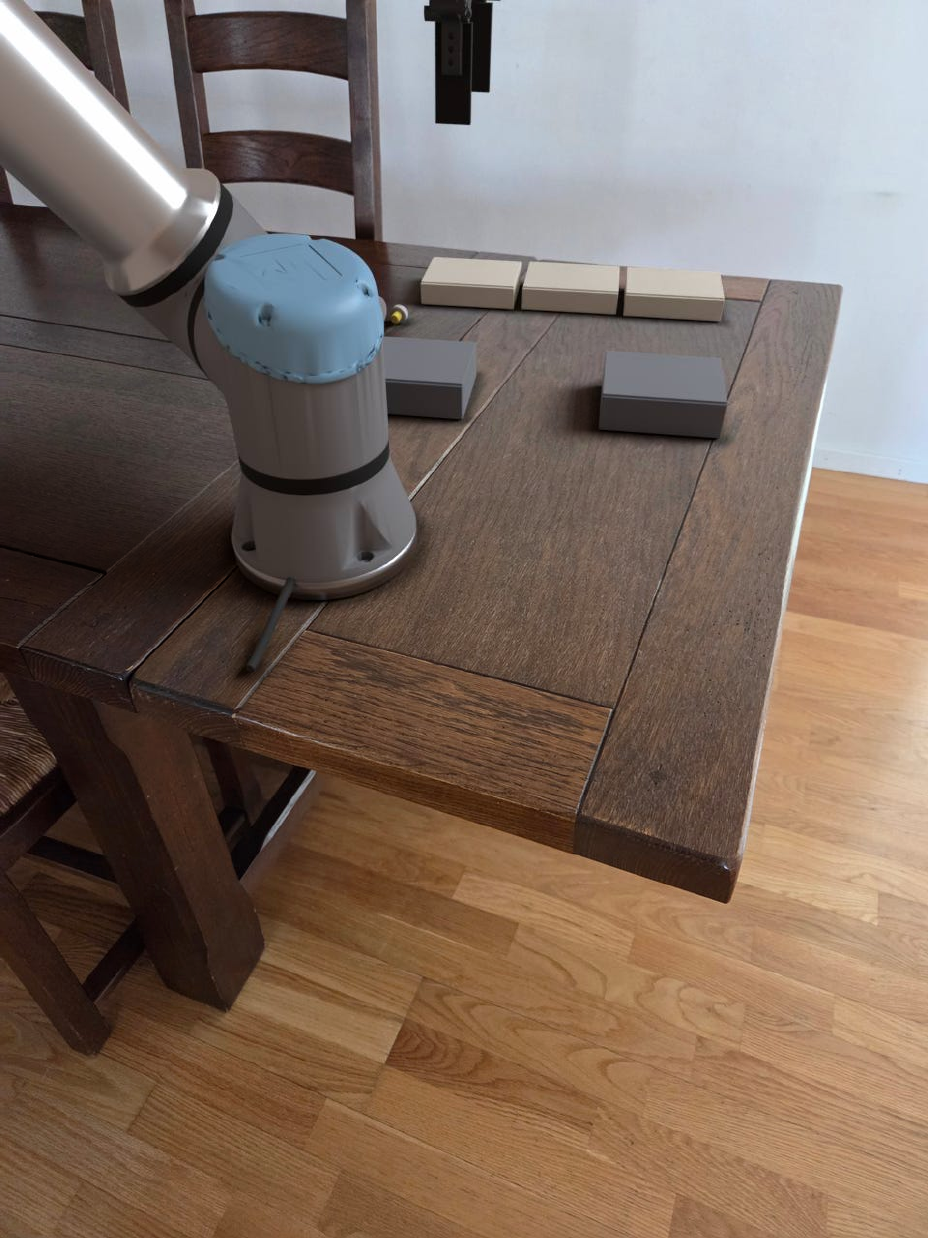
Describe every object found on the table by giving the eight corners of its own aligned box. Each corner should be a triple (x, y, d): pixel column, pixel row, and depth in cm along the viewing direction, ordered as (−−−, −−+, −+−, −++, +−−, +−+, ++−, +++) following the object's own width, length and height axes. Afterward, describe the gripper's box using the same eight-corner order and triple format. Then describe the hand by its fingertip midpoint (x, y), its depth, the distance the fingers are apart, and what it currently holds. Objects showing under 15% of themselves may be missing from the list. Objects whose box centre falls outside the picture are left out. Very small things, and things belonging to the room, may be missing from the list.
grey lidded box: (462, 421, 88) (461, 385, 86) (348, 412, 90) (345, 377, 87) (476, 376, 96) (476, 341, 93) (371, 369, 98) (369, 335, 95)
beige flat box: (615, 315, 109) (618, 292, 107) (521, 310, 110) (522, 286, 108) (617, 288, 116) (619, 265, 114) (528, 283, 117) (529, 261, 115)
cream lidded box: (720, 322, 107) (725, 298, 105) (623, 316, 108) (626, 293, 106) (715, 294, 114) (719, 271, 112) (624, 289, 115) (627, 266, 113)
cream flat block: (513, 310, 110) (513, 287, 108) (421, 305, 111) (420, 281, 109) (520, 283, 117) (521, 261, 115) (434, 278, 118) (433, 256, 116)
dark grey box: (719, 440, 85) (727, 403, 83) (598, 431, 87) (602, 394, 84) (713, 392, 93) (720, 357, 90) (602, 384, 94) (605, 350, 92)
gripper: (508, -281, 48) (493, 142, 62) (538, -236, 67) (521, 81, 81) (377, -282, 49) (391, 137, 63) (443, -237, 68) (442, 78, 81)
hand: (464, 106), depth 72 cm, fingers open, 13 cm apart
